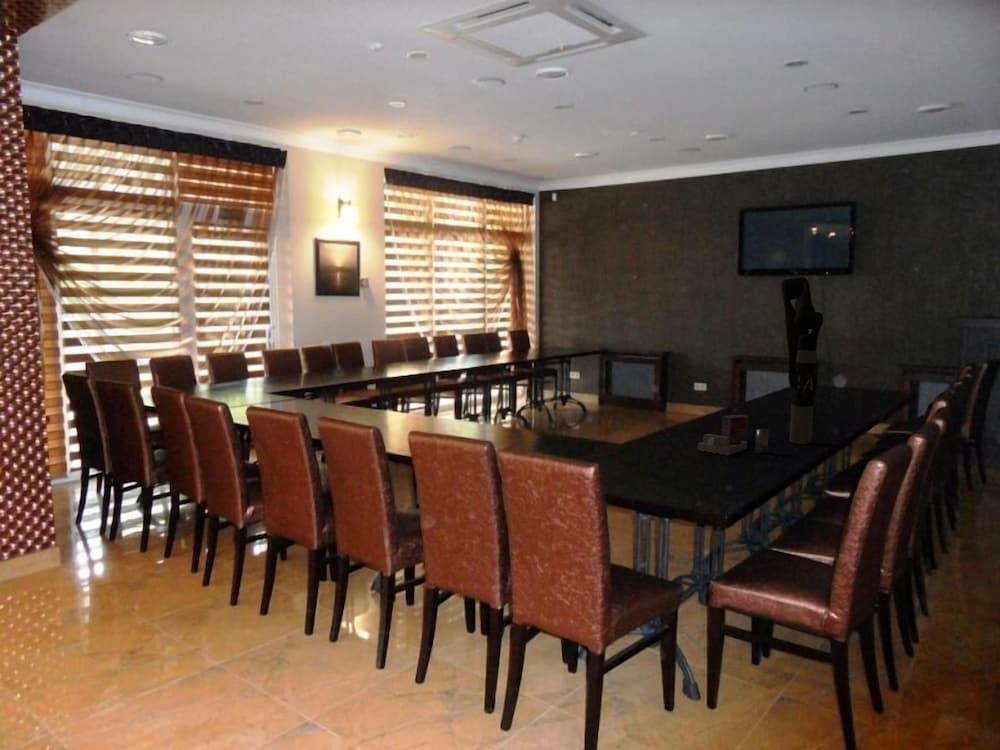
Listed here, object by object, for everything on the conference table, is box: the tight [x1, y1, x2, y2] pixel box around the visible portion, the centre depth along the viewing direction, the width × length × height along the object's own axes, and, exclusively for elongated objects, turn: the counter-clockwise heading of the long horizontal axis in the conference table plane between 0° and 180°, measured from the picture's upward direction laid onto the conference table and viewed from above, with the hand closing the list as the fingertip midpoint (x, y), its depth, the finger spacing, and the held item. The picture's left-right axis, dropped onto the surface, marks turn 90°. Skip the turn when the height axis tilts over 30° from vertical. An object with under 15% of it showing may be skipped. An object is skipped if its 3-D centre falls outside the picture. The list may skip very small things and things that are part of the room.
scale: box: [697, 433, 748, 456], centre depth 311 cm, size 19×14×7 cm
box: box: [721, 414, 749, 443], centre depth 328 cm, size 10×6×12 cm, turn 112°
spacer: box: [754, 428, 770, 455], centre depth 305 cm, size 5×5×10 cm
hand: (804, 401), depth 292 cm, fingers open, 8 cm apart
